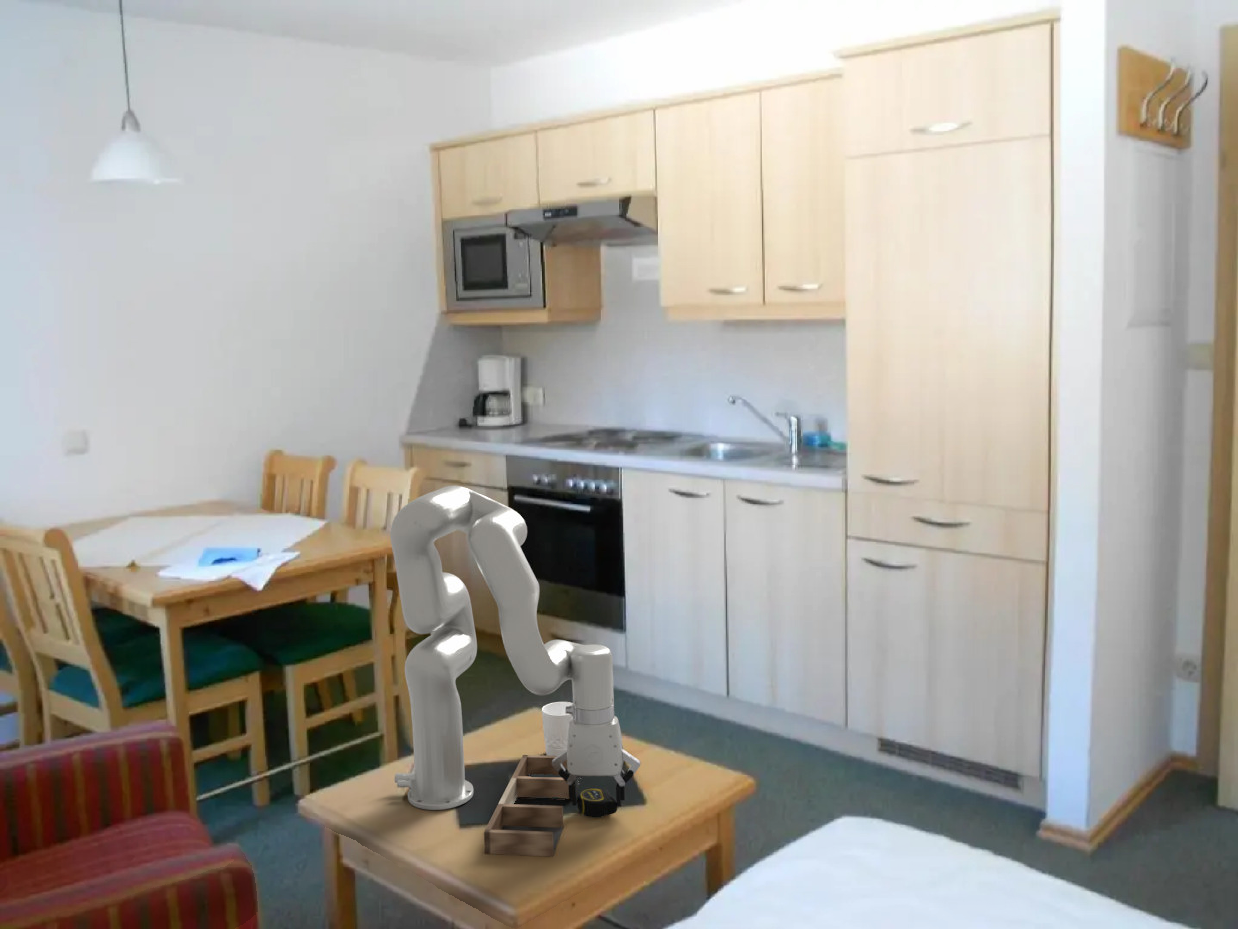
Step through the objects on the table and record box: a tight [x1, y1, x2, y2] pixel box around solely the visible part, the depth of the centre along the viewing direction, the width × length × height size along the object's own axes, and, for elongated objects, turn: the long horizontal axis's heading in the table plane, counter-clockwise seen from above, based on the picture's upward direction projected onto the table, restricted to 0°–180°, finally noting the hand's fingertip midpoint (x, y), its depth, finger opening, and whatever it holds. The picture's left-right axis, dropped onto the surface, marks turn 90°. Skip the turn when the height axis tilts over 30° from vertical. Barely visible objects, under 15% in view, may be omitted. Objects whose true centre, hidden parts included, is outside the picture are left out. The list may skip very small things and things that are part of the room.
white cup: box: [541, 701, 573, 756], centre depth 240 cm, size 8×8×10 cm
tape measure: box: [576, 786, 618, 819], centre depth 212 cm, size 7×7×4 cm
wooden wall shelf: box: [483, 754, 582, 857], centre depth 214 cm, size 12×33×4 cm, turn 173°
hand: (597, 802), depth 212 cm, fingers closed on tape measure, 7 cm apart
